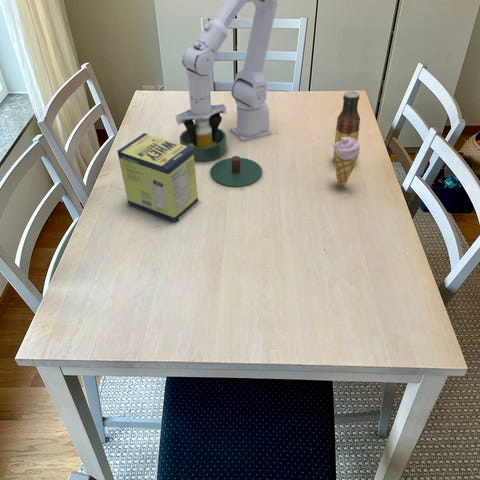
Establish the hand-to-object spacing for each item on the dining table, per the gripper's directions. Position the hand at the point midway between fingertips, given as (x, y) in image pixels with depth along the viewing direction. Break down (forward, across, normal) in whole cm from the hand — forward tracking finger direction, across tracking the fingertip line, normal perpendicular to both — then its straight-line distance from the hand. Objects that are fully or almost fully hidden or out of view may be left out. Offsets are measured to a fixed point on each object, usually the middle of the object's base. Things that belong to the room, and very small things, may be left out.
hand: (203, 141), depth 145 cm
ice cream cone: (+4, +25, -34) cm, 42 cm away
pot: (+3, 0, 0) cm, 3 cm away
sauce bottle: (+4, +33, -24) cm, 41 cm away
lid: (+3, +3, -16) cm, 16 cm away
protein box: (+4, -20, -19) cm, 28 cm away
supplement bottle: (+3, 0, 0) cm, 3 cm away
